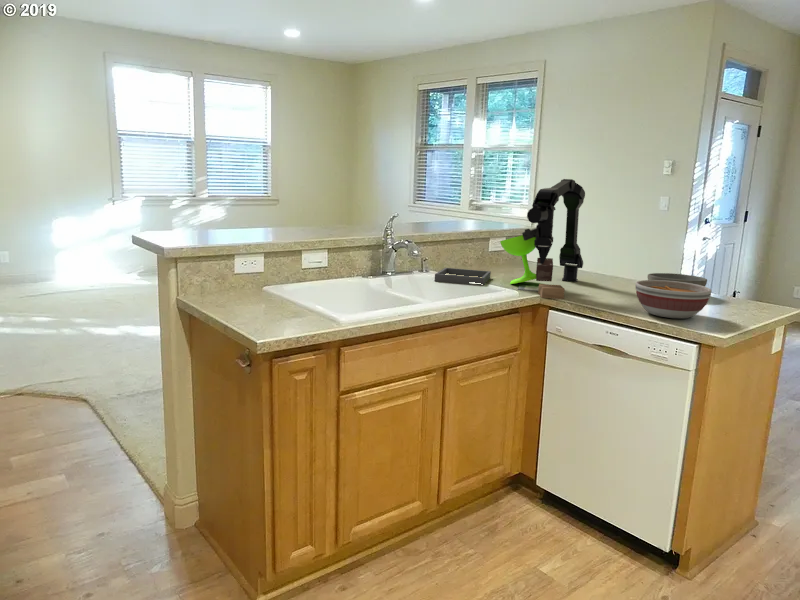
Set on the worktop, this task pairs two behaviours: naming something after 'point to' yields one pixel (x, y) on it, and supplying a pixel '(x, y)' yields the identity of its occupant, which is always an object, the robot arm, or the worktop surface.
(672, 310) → the bowl
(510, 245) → the wineglass
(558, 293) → the base block
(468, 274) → the glass rack frame
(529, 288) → the gray flat panel
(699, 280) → the bowl
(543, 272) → the box
